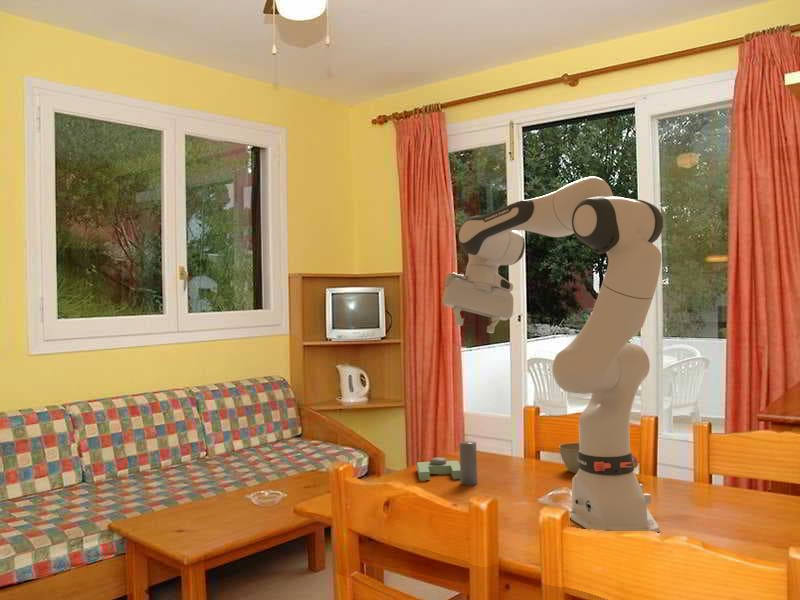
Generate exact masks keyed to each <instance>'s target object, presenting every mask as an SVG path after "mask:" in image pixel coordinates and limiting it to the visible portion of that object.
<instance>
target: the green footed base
mask: <svg viewBox="0 0 800 600" xmlns="http://www.w3.org/2000/svg"><path fill="white" fill-rule="evenodd" d="M416 472H417V475H418V479H419V481H420V482H425V481H426V480H429V481H431V475H430V474H438V475H450V476H451V477H452V479H453V480H461V471H460V461H459V460H447V458H445V457H439V456H437V457H431V458H430V459H429V461H420V462H419V461H418V462H417V461H416ZM426 482H427V481H426Z"/></svg>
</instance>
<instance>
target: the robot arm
mask: <svg viewBox="0 0 800 600" xmlns="http://www.w3.org/2000/svg"><path fill="white" fill-rule="evenodd" d="M663 229H664V218H663V214H662V213H661V211H660V209H659V208H658V207H656V205H654V204H652V203H650V202H648V201H645V200H642V199H635V198H630V197H622V196H621V197H620V196H614V195H613V191H612V189H611V187H610V185H609V184H608V183H607V181H606V180H604V179H602V178H600V177H598V176H588V177H583V178H581V179H578V180H575V181H573V182H570V183H568V184H566V185H564V186H563V187H560V188H559V189H557V190H555V191H552V192H550V193H547V194H544V195H542V196H538V197H534V198H529V199H523V200H519V201H515V202H513V203H510V204H508V205H505V206H504V207H501V208H499V209H496V210H494V211H491V212H490V213H487V214H484V215H474V216H470V217H469V218H468V219H467V220H465V221H464V222H462V224H461V226H460V228H459V230H458V233H457V239H458V243H459V246H460V248H461V249H462V251H463V253H464V254H468V255H467V256H468V262H467V265H466V266H465V267H466V268H465V275H464V274H457V273H456V272H451V273H448V274H447V275H446V277H445V281H444V282H445V283H444V284H445V287H444V290H443V293H442V299H441V302H442V304H443V306H445V307H448V308H453V310H452V313H453V315H454V316H455V317H454V318H455V325H456V326H461V327H462V326H464V321H465V318H463V317H462V316H461V312H462V311H464V312H469V313H473V314H477V315H480V316H484V317H489V318H491V322H492V323H491V324H490V325H487V326H486V333H488V334H494V333H495V329H496V328H495V327H496V326H497V325H498V323H499V322H500V321H507V320H510V319H511V318H512V317H513V314H514V295H513V294H512V293H511V292H512V291H513V290H514V284H513V283H512V282H510V281H508V280H507V279H506V278H504V277H503V276H501V275H500V274H499V268H500V266H511V265H515V264H517V263H518V262H519V261H521V259H522V258H523V256H524V253H525V247H526V242H525V238H524V236H523V234H522V232H519V231H526V232H530V233H536V234H538V235H543V236H547V237H551V238H562V237H563V238H564V237H568V236H571V235H575V236H576V238H577V240H579V241H580V242H581V243H583V244H585V245H587V246H588V247H589V248H590V249H592V251H593V252H594V253H596V254H597V255H603V254H606V256H607V260H608V261H607V262H608V263H607V268H606V271H605V274H604V277H603V279H602V283H601V286H600V289H599V292H598V294H597V298H596V301H595V303H594V306H593V309H592V312H591V313H590V316H589V317H588V319H587V320H586V322H585V324H584V325H583V326H582V328H581V330H580V331H579V332H578V334H577V335H576V337H574V339H573V340H572V341H571V342H570V343H569V344H568V345H567V346H566V347H565V348H563V349H562V350H560V352H558V353H557V354H556V356H555V357H554V359H553V363H552V375H553V379H554V381H555V383H556V385H558V387H559V389H561V390H562V391H564V392H567V393H573V394H579V395H580V394H581V395H586V394H587V395H588V394H591V397H590V400H589V402H588V404H587V406H586V407H585V409H584V410H583V411H582V412H581V413H580V415H579V417H578V441H579V442H578V443H579V448H580V450H579V451H578V457H577V461H578V467H579V470H578V472H577V473H575V475H574V476H573V477H572V478H571V479H572V480H571V508H568V509H567V510H569V511H570V515H571V520H572V521H573V522H575V523H576V524H578V525H580V526H581V527H583V528H585V529H586V530H587V529H594V530H604V531H655V532H657V533H658V532H660V526H659V524H658V523H657V521H656V519H655V518H654V516H653V515H652V513H651V512H650V510H649V509H648V505H649V506H650V505H651V504H652V503H651V502H652V497H651V494H650V493H643V491H644V485H643V484H642V483H639V481H638V477H637V475H636V474H635V472H634V471H635V468H634V465H633V458H632V456H633V454H632V452H631V447H630V446H631V444H630V443H631V441H630V439H631V438H630V421H631V413H632V409H633V405H634V400H635V397H636V394H637V391H638V390H639V388H640V386H641V384H642V383H643V381H645V379H646V378H647V376H648V374H649V373H650V368H651V367H650V365H651V364H650V358H649V355H648V353H647V352H646V351H645V349H644V348H643V347H641V346H640V345H639V344H636V343H631V342H629V341H630V340H632V338H634V337H635V336H636V335H638V333H640V332H641V330H642V328H643V327H644V324H645V322H646V319H647V316H648V313H649V310H650V307H651V304H652V302H653V298H654V295H655V294H656V293H655V292H656V289H657V285H658V283H659V282H658V281H659V278H660V272H661V267H662V254H661V251H660V249H659V248H658V247H657V246H656V245H655V244H653V243H654V242H656V241H657V240H658V239H659V238H660V236H661V234H662V231H663Z"/></svg>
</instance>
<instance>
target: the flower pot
mask: <svg viewBox="0 0 800 600" xmlns="http://www.w3.org/2000/svg"><path fill="white" fill-rule="evenodd" d="M558 450H559V453H560V456H561V460H562V462H563V464H564V466H565V467H566V469H567V471H568V472H569V473H572V474H577V472H578V470H579V467H578V461H577V457H578V451H579V450H580V448H579V442H567V443H566V442H565V443H561V444H560V445H559V446H558Z"/></svg>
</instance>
